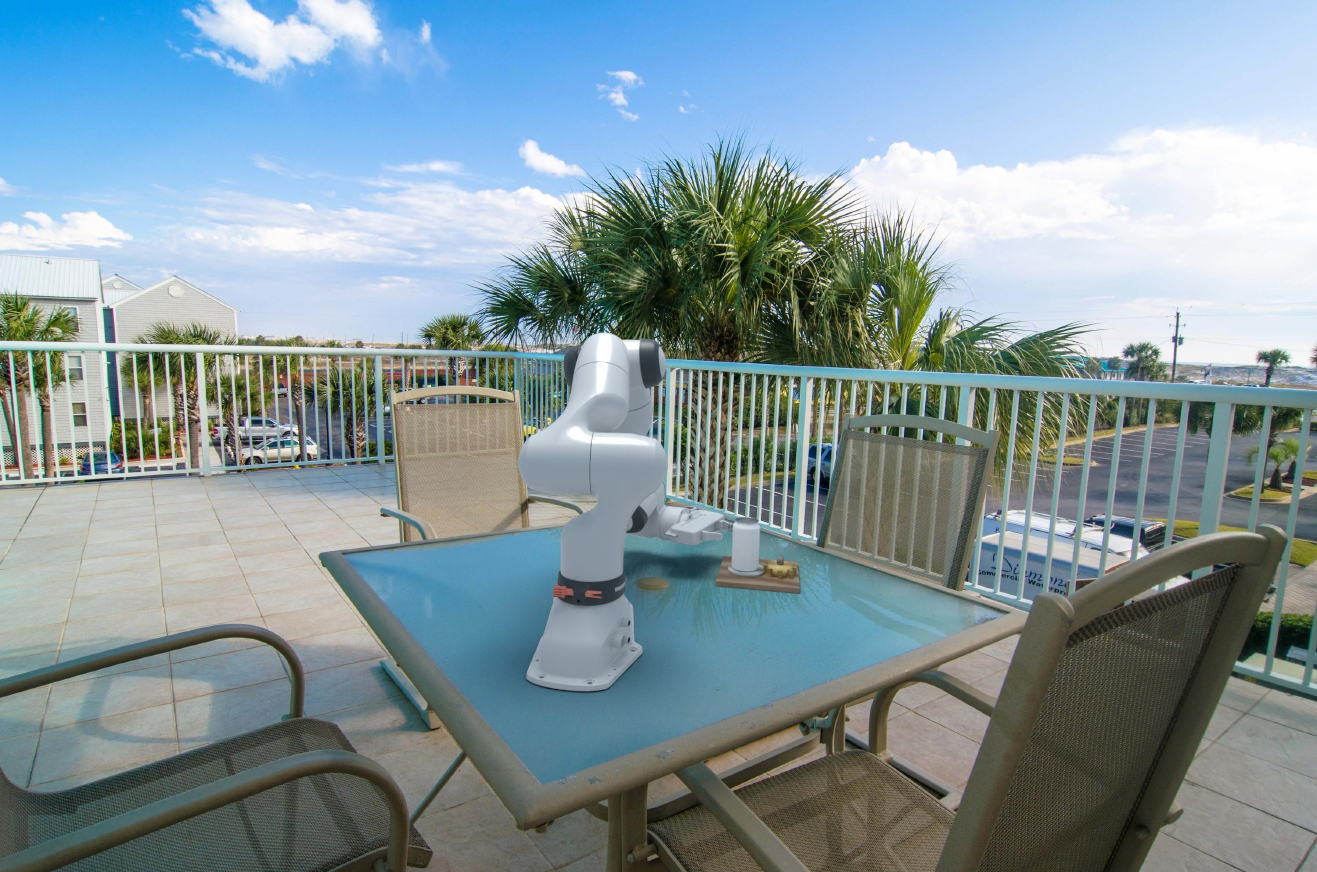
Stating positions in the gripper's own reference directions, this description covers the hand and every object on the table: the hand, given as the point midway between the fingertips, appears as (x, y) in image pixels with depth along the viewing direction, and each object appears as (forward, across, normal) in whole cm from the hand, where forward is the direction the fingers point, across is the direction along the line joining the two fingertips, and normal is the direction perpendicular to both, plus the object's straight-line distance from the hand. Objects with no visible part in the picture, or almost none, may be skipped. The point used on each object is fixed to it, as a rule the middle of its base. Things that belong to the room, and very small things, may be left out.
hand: (728, 532), depth 158 cm
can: (+5, 0, +8) cm, 10 cm away
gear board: (+8, +2, +10) cm, 13 cm away
